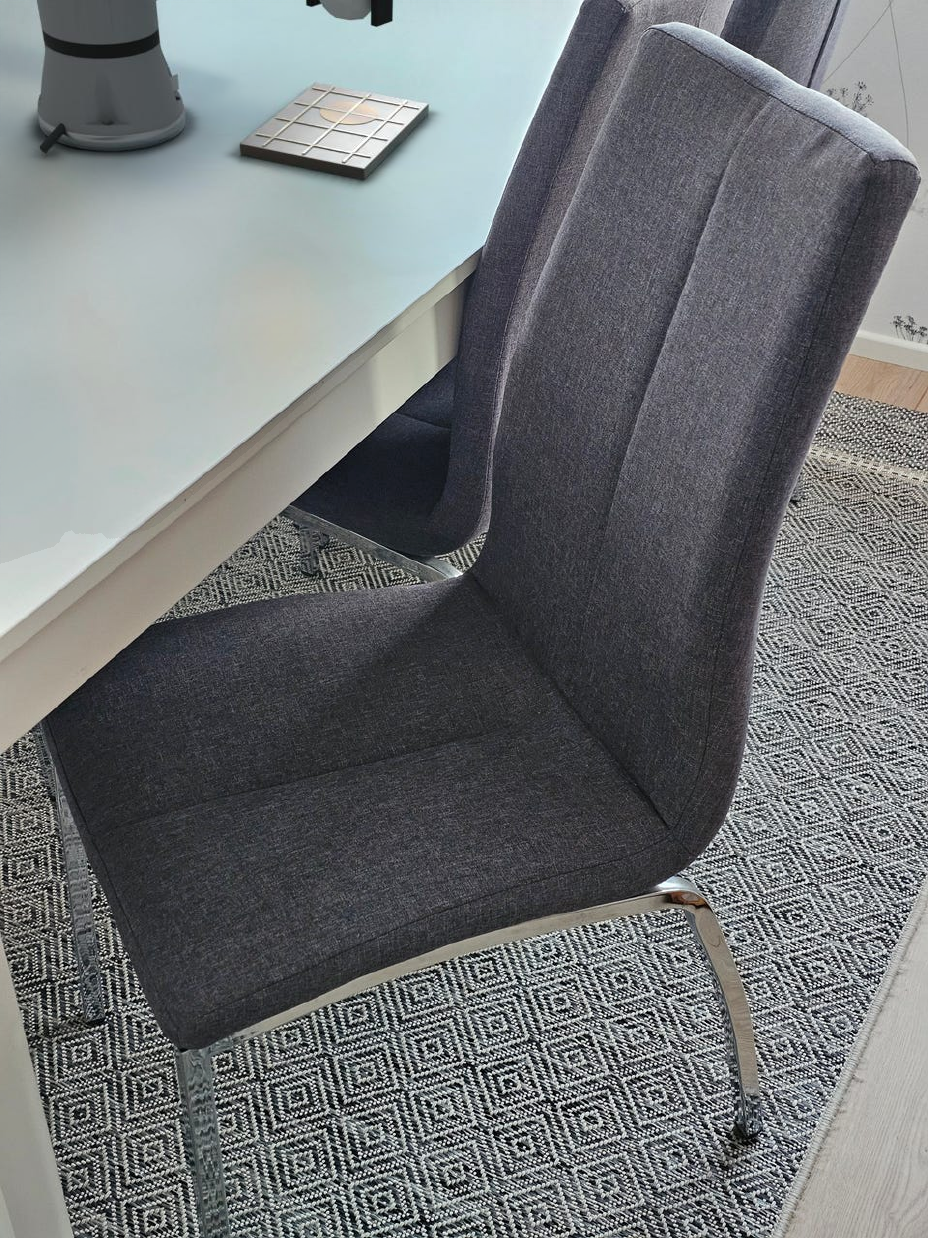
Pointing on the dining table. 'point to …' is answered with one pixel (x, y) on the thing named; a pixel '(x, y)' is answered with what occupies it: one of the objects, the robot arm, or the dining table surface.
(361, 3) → the apple
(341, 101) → the board
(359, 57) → the dining table surface
